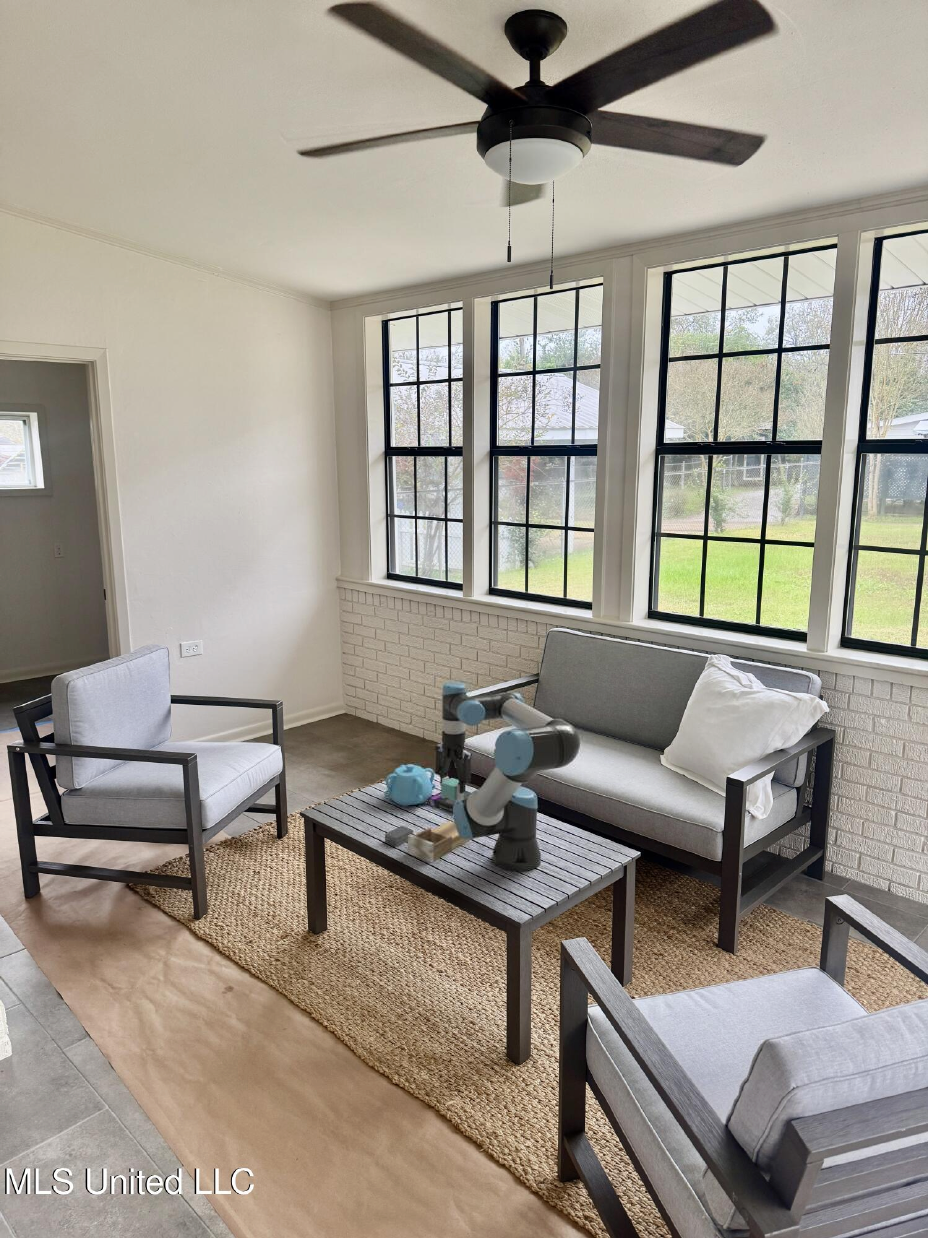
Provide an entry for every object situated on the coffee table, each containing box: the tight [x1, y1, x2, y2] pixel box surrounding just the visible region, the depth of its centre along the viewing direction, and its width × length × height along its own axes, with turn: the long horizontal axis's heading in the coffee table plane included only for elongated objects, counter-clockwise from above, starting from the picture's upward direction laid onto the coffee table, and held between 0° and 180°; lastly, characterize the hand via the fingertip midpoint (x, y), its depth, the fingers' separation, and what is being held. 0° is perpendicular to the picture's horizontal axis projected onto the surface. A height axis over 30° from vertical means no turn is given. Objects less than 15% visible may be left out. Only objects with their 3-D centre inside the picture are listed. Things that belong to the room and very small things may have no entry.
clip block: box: [440, 777, 465, 800], centre depth 262 cm, size 6×6×4 cm
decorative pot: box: [383, 763, 436, 807], centre depth 296 cm, size 16×16×14 cm
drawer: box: [407, 820, 471, 863], centre depth 260 cm, size 10×20×6 cm, turn 142°
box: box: [427, 790, 472, 814], centre depth 293 cm, size 14×4×20 cm
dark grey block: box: [384, 825, 414, 848], centre depth 264 cm, size 5×8×3 cm, turn 142°
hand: (452, 799), depth 263 cm, fingers closed on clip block, 5 cm apart
